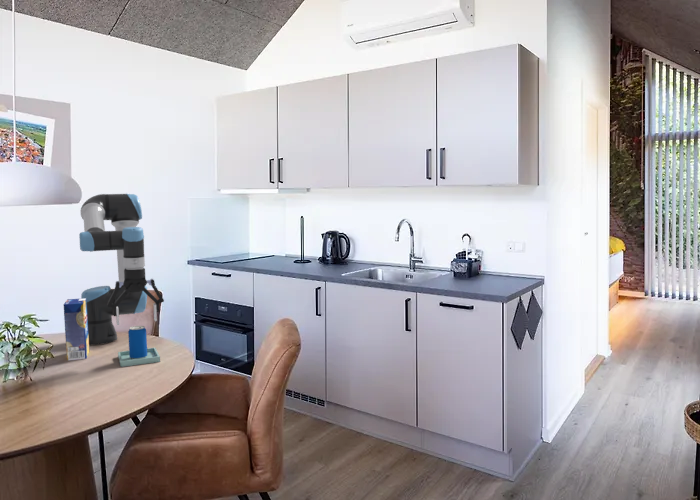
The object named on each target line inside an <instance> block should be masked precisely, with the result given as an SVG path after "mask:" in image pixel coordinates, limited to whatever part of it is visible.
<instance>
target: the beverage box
mask: <svg viewBox="0 0 700 500" xmlns="http://www.w3.org/2000/svg"><path fill="white" fill-rule="evenodd" d="M63 316H64V318H63V320H64V333H65V335H64V337H65V348H66V352H65V353H66V361H76V360H86V359H87V358H88V356H89V353H90V345H89V336H88V319H87V302H86V298H82V299H81V298H70V299H69V298H68V299H66V300H65V302H64V304H63Z"/></svg>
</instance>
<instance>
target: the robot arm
mask: <svg viewBox="0 0 700 500" xmlns="http://www.w3.org/2000/svg"><path fill="white" fill-rule="evenodd" d="M80 217H81V219H82V221H83V228H84V230H83V231H82V232H80V233H79V248H80V250H81V251H82V252H90V253H91V252H103V251H105V252H106V251H116V259H117V274H118V280H116V281H115V285H114V286H115V287H114V288H111V287H110V285H100V286H95V287H91V288H87V289H85V290H84V291H81V296H80V297H81V298H80V299H82V298H86V302H87V319H88V336H89V346H97V345H104V344H109V343H112V342H115V341H117V340H118V333H117V331H116V328H115V326H114V323H113V319H112V317H116V319H115V320H116V326H119V325H120V315H121V316H124V315H132V314H133V315H135V314H140V313H143V312H145V310H146V309H147V308H146V307H147V301H148V297H149V298H150V299H151V300H152V301H153V302H154V303H153V305H152V306H153V320H154V322H157V321H158V319H157V317H158V316H157V314H158V313H159V312H160V304H162V303H164V302H165V299H164V297H163V296H162V295H161V294H162V293H160V291H159V289H158V287H157V286H156V284H155V279H154V278H150V279H146V268H145V267H146V263H145V262H146V261H145V240H144V239H145V235H144V229H143V228H142V227H140V226H138V225H139V224H140V220H142V219H143V213H142V206H141V202H140V198H139V197H138V195H137V194H134V193H110V194H109V193H101V194H97V195H94V196H91V197H88V199H87V200H86V201H85V202H83V204H82V205H81V208H80ZM105 221H111V222H110V224H111V226H113V227H114V228H115V230H106V228H105ZM147 284H148V285H149V286H151V287H152V289H153V291H154V293H155V294H156V296H157V297H158V299H157V297H156V296H154V295H153V294H152V293H151V291H149V290H148V287H147V286H146V285H147Z"/></svg>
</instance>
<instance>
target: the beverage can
mask: <svg viewBox="0 0 700 500" xmlns="http://www.w3.org/2000/svg"><path fill="white" fill-rule="evenodd" d="M145 327H146V326H144V325H135V326H134V325H133V326H130V327H129V329H128V331H127V334H128V351H129V356H130V358H132V359H133V360H134V359H142V358H145V357H146V356H147V348H148V342H147V341H148V340H147V339H148V338H147V329H146V328H145Z"/></svg>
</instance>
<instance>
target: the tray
mask: <svg viewBox="0 0 700 500" xmlns="http://www.w3.org/2000/svg"><path fill="white" fill-rule="evenodd" d="M117 358H118V362H119V366H120V367H121V368H123V367H132V366H137V365H147V364H154V363H160V362H161V356H160V354H159V352H158V349H157V347H147V356H146V357H145V358H142V359H134V360H133V359H132V358H130V356H129V350H124V351H123V350H122V351H117Z"/></svg>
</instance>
